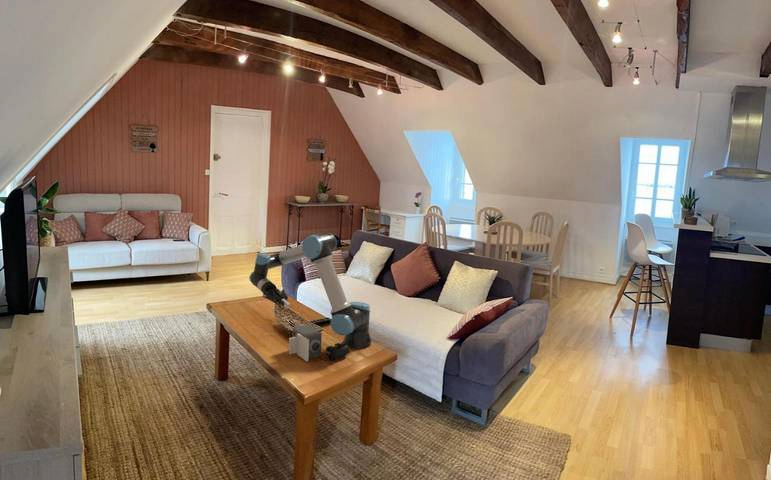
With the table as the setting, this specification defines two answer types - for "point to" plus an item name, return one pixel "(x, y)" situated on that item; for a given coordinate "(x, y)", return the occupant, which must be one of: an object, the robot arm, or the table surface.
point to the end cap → (337, 351)
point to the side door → (299, 346)
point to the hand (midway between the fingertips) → (288, 306)
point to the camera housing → (310, 338)
